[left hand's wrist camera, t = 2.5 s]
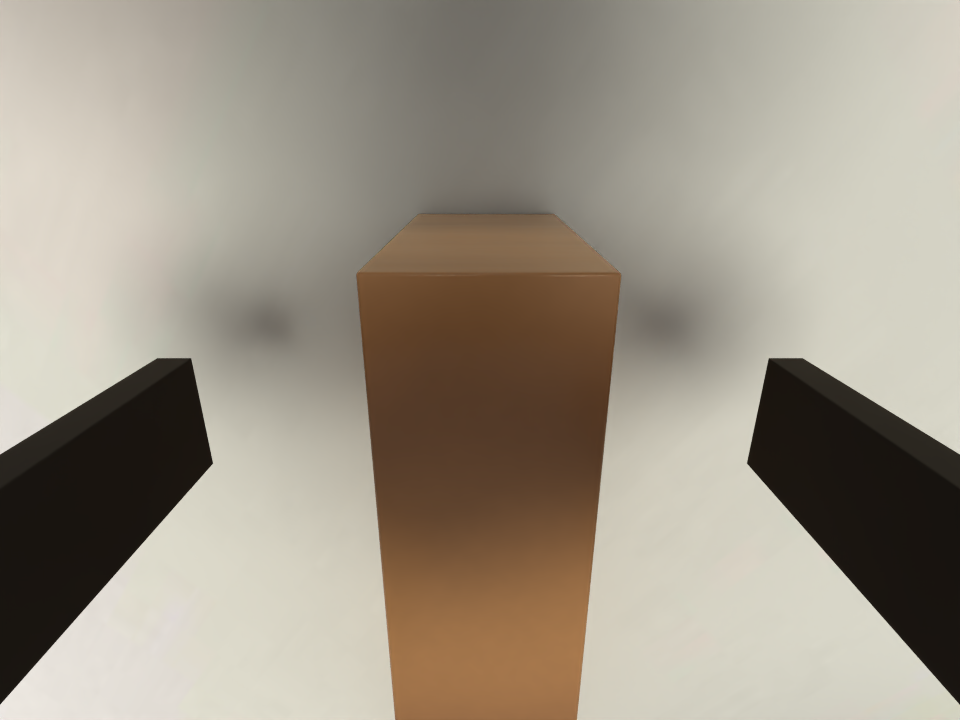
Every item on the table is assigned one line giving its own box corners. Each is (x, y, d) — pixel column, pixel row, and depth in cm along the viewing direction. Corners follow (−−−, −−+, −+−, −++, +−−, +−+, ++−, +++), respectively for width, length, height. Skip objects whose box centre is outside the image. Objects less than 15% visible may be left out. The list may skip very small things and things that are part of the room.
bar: (417, 213, 17) (355, 272, 9) (555, 213, 17) (622, 273, 9) (440, 748, 27) (420, 1014, 19) (527, 749, 27) (547, 1015, 19)
